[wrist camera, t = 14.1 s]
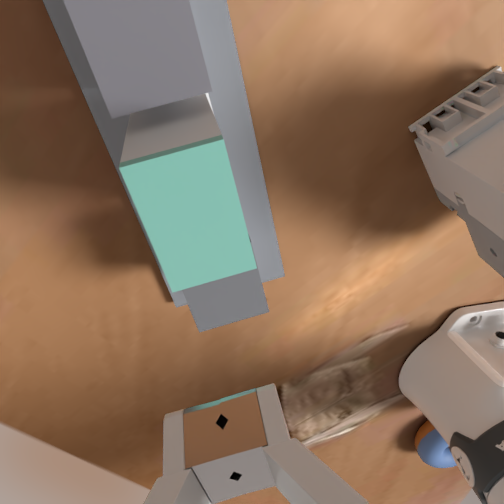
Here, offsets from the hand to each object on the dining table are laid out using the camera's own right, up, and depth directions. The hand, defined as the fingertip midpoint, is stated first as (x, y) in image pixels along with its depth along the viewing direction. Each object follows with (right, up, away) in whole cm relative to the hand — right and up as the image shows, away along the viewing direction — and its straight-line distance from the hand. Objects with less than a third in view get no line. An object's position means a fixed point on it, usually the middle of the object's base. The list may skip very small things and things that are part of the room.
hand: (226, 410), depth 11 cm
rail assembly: (-4, +12, +18) cm, 22 cm away
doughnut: (+28, -20, +48) cm, 59 cm away
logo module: (-4, +11, +16) cm, 20 cm away
